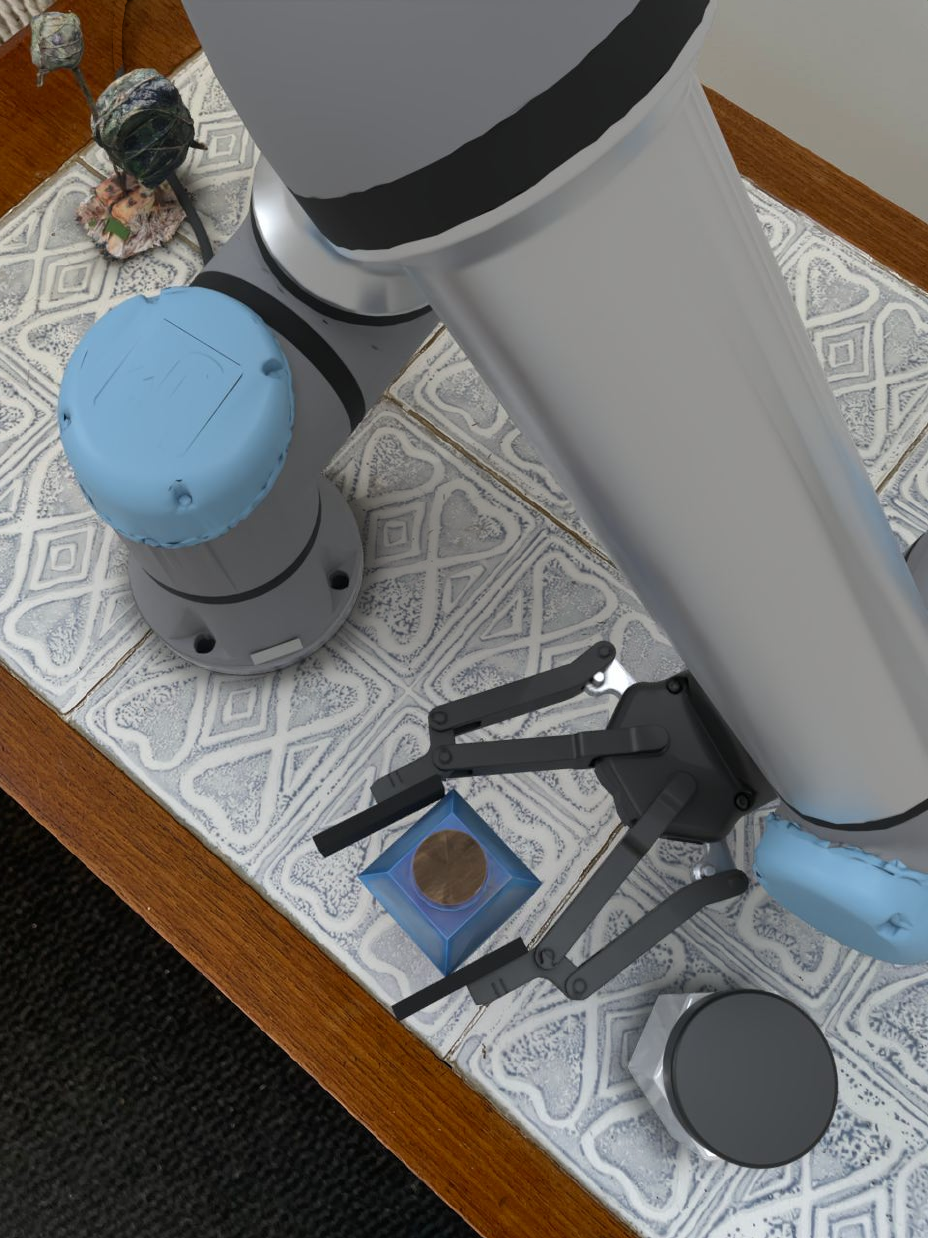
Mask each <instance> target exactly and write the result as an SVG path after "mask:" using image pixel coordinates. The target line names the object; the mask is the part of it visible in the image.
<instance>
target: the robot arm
mask: <svg viewBox="0 0 928 1238" xmlns="http://www.w3.org/2000/svg"><path fill="white" fill-rule="evenodd" d="M180 2H181V4H182V6H183V9H184V10H185V13H186V15H187V17H188V20H189V22H190V24H191V26H192V28H193V31H194V33H195V35H196V37H197V39H198V41H199V44H200V46H201V48H202V50H203V53H204V55H205V57H206V59H207V61H208V64H209V65H210V68H211V70H212V72H213V74H214V77H215V78H216V80H217V82H218V83H219V85H220V87H221V88H222V91H224V93H225V95H226V97H227V98H228V100H229V101H230V103H231V106H232V107H233V109H234V110H235V112H236V114H237V115H238V117H239V119H240V121H241V122H242V124H243V125H244V127H245V129H246V131H247V132H248V134H249V135H250V138H251V139H252V141H253V142H254V144H255V146H256V147H257V149H258V150H259V151H260V153H259V156H258V159H257V161H256V164H255V167H254V171H253V179H252V183H251V184H252V185H251V191H250V199H249V207H248V211H247V214H246V216H245V218H244V219H243V221H242V222H241V224H240V225H239V227H238V228H237V229H236V230H235V232H233V234H232V235H231V236H230V237H229V238H228V240H226V242H225V243H224V244H223V245H222V246H221V248H220V249H219V250H218V251H217V252H216V253H215V254H214V251H213V247H212V244H211V241H210V238H209V235H208V232H207V230H206V229H205V226H204V224H203V222H202V219H201V217H200V215H199V213H198V212H197V210H196V208H195V206H194V203H192V202H191V201H190V199H189V197H188V195H187V193H186V191H185V189H184V187H185V186H184V187H183V185H184V184H183V183H182V182H181V180H180V178H179V177H178V175H177V174H176V172H175V170H174V171H173V172H172V174H171V175H170V176H169V177H168V178H167V181H168V183H169V184H170V186H171V188H172V190H173V191H174V193H175V195H176V197H177V199H178V201H179V203H180V205H181V207H182V209H183V210H184V211H185V213H186V215H187V216H186V218H187V220H188V222H189V224H190V226H191V228H192V230H193V232H194V234H195V237H196V240H197V242H198V246H199V248H200V252H201V255H202V259H203V265H204V267H203V268H202V269H201V271H199V273H198V274H197V275H196V276H195V277H194V279H193V280H192V281H191V283H190V284H188V285H179V286H178V285H173V286H166V287H163V288H160V293H159V295H154V296H149V297H146V296H145V295H144V294H142V293H139V294H136V295H134V296H132V297H130V298H127V299H126V300H123V301H122V302H120V303H118V304H117V305H115V306H114V307H113V308H111V309H110V310H109V311H107V312H106V313H105V314H103V315H102V316H101V317H99V319H97V320H96V321H95V322H94V324H92V325H91V327H89V329H87V332H85V333H84V335H83V337H82V338H81V339H80V341H79V342H78V344H77V345H76V346H75V348H74V350H73V351H72V353H71V355H70V358H69V360H68V361H67V365H66V366H65V369H64V372H63V375H62V378H61V381H60V386H59V389H58V397H57V398H58V399H57V412H56V413H57V425H58V430H59V436H60V441H61V446H62V448H63V451H64V454H65V456H66V459H67V461H68V464H69V465H70V467H71V469H72V471H73V474H74V477H75V479H76V483H77V484H78V486H79V489H80V491H81V493H82V494H83V496H84V498H85V499H86V501H87V503H88V504H89V506H90V507H91V508H92V510H93V511H94V512H95V514H97V515H98V517H99V518H100V519H101V520H102V521H103V522H105V523H106V524H107V525H109V526H110V528H112V530H113V531H114V532H115V533H116V535H117V537H118V538H119V539H120V541H121V542H122V543H123V545H124V546H125V547H126V549H127V550H128V554H127V555H128V557H127V571H128V581H129V586H130V591H131V594H132V598H133V600H134V602H135V605H136V608H137V609H138V611H139V614H140V616H141V617H142V619H143V620H144V622H145V623H146V624H147V626H148V627H149V628H150V629H151V631H152V632H153V633H154V635H155V636H157V638H158V639H159V641H160V642H162V643H163V644H164V646H166V647H167V648H168V650H171V652H173V653H174V654H176V655H177V656H178V657H180V658H182V659H183V660H185V661H186V662H189V663H191V664H193V665H195V666H196V667H200V668H202V669H205V670H209V671H211V672H215V673H220V674H225V675H226V674H227V675H239V676H240V675H241V676H242V675H243V676H244V675H245V676H246V675H258V674H265V673H270V672H274V671H278V670H281V669H285V668H287V667H289V666H292V665H294V664H296V663H299V662H300V661H302V660H304V659H306V658H308V657H309V656H311V655H312V654H314V653H315V652H317V651H318V650H319V649H321V648H322V647H323V646H325V644H327V643H328V642H329V641H330V640H331V639H332V638H333V637H334V636H335V635H336V633H338V631H340V629H341V627H342V626H343V625H344V623H345V622H346V620H347V619H348V618H349V616H350V614H351V612H352V611H353V608H354V607H355V604H356V602H357V599H358V596H359V593H360V591H361V588H362V587H361V586H362V582H363V576H364V563H365V561H364V560H365V558H364V549H363V544H362V543H363V541H362V538H361V533H360V529H359V525H358V522H357V518H356V515H355V514H354V511H353V509H352V507H351V506H350V504H349V502H348V501H347V499H346V497H345V496H344V494H343V493H342V492H341V491H340V489H339V488H338V487H337V486H336V485H335V484H334V483H333V482H332V481H331V480H330V479H329V478H328V477H326V476H325V475H324V474H323V472H324V470H325V469H326V468H327V466H328V465H329V464H330V463H331V461H332V460H333V459H334V458H335V456H336V455H337V454H338V452H339V451H340V450H341V448H342V447H343V446H344V444H346V442H347V441H348V439H350V437H351V436H352V434H353V433H354V432H355V430H356V429H357V428H358V427H359V425H360V424H361V423H362V422H363V421H364V419H365V418H366V416H367V415H368V414H369V412H370V411H371V410H372V408H373V407H374V406H375V405H376V403H377V402H378V401H379V399H380V398H381V397H382V396H383V395H384V393H385V392H386V391H387V390H388V388H389V387H390V385H391V384H392V383H393V381H395V379H396V378H397V377H398V376H399V374H400V373H401V372H402V370H403V369H404V368H405V366H406V365H407V364H408V363H409V361H410V360H411V359H412V358H413V356H414V355H415V354H416V352H417V351H418V350H419V349H420V348H421V346H422V345H423V344H424V342H425V341H426V340H427V339H428V337H430V335H431V334H432V332H433V331H434V330H435V329H436V327H437V326H438V325H439V324H440V322H441V323H442V324H443V326H444V327H445V329H446V330H447V331H448V333H449V334H450V335H451V337H452V338H453V340H454V341H455V343H456V344H457V346H458V347H459V348H460V350H461V351H462V352H463V354H464V356H465V357H466V358H467V359H468V361H469V362H470V364H471V365H472V367H473V368H474V370H476V372H477V373H478V375H479V377H480V378H481V379H482V381H483V382H484V383H485V385H486V386H487V388H488V389H489V390H490V392H491V393H492V395H493V396H494V398H495V399H496V400H497V402H498V403H499V404H500V406H501V408H502V410H504V412H505V414H507V416H508V417H509V419H510V420H511V422H512V423H513V424H514V426H515V427H516V428H517V430H518V431H519V433H520V434H521V435H522V437H523V438H524V439H525V441H526V443H527V444H528V445H529V447H530V448H531V449H532V451H533V452H534V454H535V455H536V457H537V458H538V460H539V461H540V463H542V465H543V467H544V468H545V469H546V471H547V472H548V474H549V475H550V476H551V477H552V479H553V480H554V482H555V483H556V485H557V486H558V487H559V489H560V490H561V493H563V495H564V496H565V497H566V499H567V500H568V501H569V503H570V504H571V506H572V507H573V509H574V511H576V513H577V514H578V516H579V517H580V518H581V520H582V522H583V523H584V524H585V526H586V527H587V529H588V530H589V531H590V532H591V534H592V535H593V537H594V538H595V540H596V541H597V542H598V544H599V545H600V546H601V548H602V549H603V551H604V552H605V554H606V555H607V556H608V558H609V559H610V561H611V562H612V564H613V565H614V566H615V568H616V570H618V572H619V573H620V575H621V576H622V577H623V579H624V580H625V582H626V583H627V585H628V586H629V588H630V589H631V590H632V592H633V593H634V594H635V596H636V597H637V599H638V600H639V602H640V603H641V604H642V606H643V607H644V609H645V610H646V611H647V613H648V614H649V616H650V617H651V619H652V620H653V621H654V623H655V624H656V625H657V626H658V628H659V629H660V631H661V633H662V634H663V635H664V637H665V638H666V639H667V641H668V642H669V644H670V645H671V647H672V648H673V650H674V651H675V653H676V654H677V655H678V657H679V658H680V660H681V661H682V662H683V663H684V665H685V666H686V668H685V669H683V670H681V671H679V672H677V673H676V674H674V675H671V676H669V677H668V678H665V679H662V680H658V681H636V680H635V679H634V678H633V676H631V674H630V673H629V672H628V671H627V670H626V668H625V667H623V665H622V664H621V663H620V662H619V661H618V659H617V658H616V656H617V649H616V647H615V645H614V644H613V643H612V642H611V641H608V640H599V641H597V642H595V643H594V644H592V645H591V646H590V647H589V648H588V649H586V650H585V651H584V652H583V653H581V654H580V655H578V657H576V658H575V659H573V660H572V661H571V662H570V663H566V664H564V665H561V666H557V667H554V668H551V669H548V670H544V671H542V672H539V673H536V674H533V675H529V676H526V677H523V678H520V679H517V680H513V681H511V682H507V683H505V684H501V685H499V686H495V687H492V688H489V689H486V690H483V691H479V692H477V693H473V694H471V695H467V696H464V697H462V698H458V699H455V700H452V701H449V702H446V703H443V704H440V705H437V706H435V707H434V706H433V708H431V710H430V711H429V712H428V715H427V726H428V734H429V748H428V750H427V751H426V752H425V754H424V755H422V756H421V757H419V758H417V759H414V760H413V761H411V762H409V763H407V764H405V765H402V766H401V767H399V768H397V769H394V770H393V771H391V772H389V773H387V774H384V775H383V776H381V777H379V778H377V779H376V780H375V781H374V782H373V784H371V785H370V787H369V789H370V792H371V794H372V796H373V798H374V800H375V803H376V804H374V805H371V806H369V807H368V808H366V809H364V810H361V811H360V812H358V813H356V814H354V815H352V816H350V817H347V818H346V819H344V820H342V821H340V822H339V823H337V824H334V825H333V826H331V827H328V828H326V829H324V830H323V831H320V832H318V833H317V834H315V835H312V836H311V838H312V841H313V842H314V845H315V847H316V849H317V851H318V853H319V854H320V855H321V856H322V857H323V858H324V859H326V858H328V857H330V856H332V855H335V854H336V853H339V852H340V851H342V850H344V849H346V848H348V847H350V846H352V845H355V844H356V843H357V842H361V840H364V839H366V838H368V837H369V836H371V835H372V836H373V834H375V833H377V832H379V831H381V830H384V829H385V828H387V827H389V826H391V825H393V824H395V823H396V822H399V821H401V820H403V819H405V818H407V817H409V816H411V815H413V814H415V813H417V812H419V811H421V810H423V809H425V808H426V807H429V806H431V805H432V804H434V803H437V802H439V801H440V800H441V799H442V798H443V797H444V796H445V795H446V787H445V785H444V783H443V782H447V780H450V779H462V778H474V777H487V776H496V775H498V776H499V775H513V774H522V773H523V774H524V773H536V772H545V771H548V772H549V771H558V770H574V771H579V770H580V771H581V770H593V773H594V774H595V776H596V779H597V780H598V782H599V783H600V785H601V786H602V787H603V788H604V790H606V792H608V794H609V795H610V796H611V797H612V800H613V803H614V808H615V811H616V814H617V817H618V818H619V819H620V821H621V823H622V825H623V827H624V828H626V827H628V830H627V831H626V832H625V833H624V834H623V835H622V837H621V839H619V841H618V842H617V843H616V844H615V846H614V847H613V849H612V850H611V851H610V852H609V854H608V855H607V856H606V858H605V859H604V860H603V861H602V862H601V864H600V865H599V866H598V867H597V869H596V870H595V872H593V874H592V875H591V876H590V878H589V879H588V880H587V881H586V882H585V884H584V885H583V887H581V889H580V890H579V891H578V892H577V893H576V895H575V896H574V897H573V899H572V900H571V901H570V902H569V904H568V905H567V906H566V908H565V909H564V910H563V911H562V913H560V915H559V916H558V918H556V920H555V921H554V923H553V924H552V925H551V926H550V928H549V929H548V930H547V932H546V933H545V934H544V935H543V936H542V937H541V939H540V940H539V942H538V943H537V944H536V945H535V946H534V947H531V948H530V949H529V950H528V948H527V945H526V944H525V942H524V940H523V938H522V936H520V935H519V936H518V937H516V938H514V939H512V940H511V941H509V942H507V943H505V944H504V945H502V946H500V947H497V948H496V949H494V950H492V951H491V952H489V953H487V954H484V955H483V956H481V957H480V958H478V959H476V960H474V961H472V962H470V963H468V964H466V965H464V966H462V967H460V968H458V969H457V970H456V971H455V972H453V973H451V974H450V975H448V976H446V977H444V976H443V977H442V978H441V979H438V980H437V981H435V982H433V983H431V984H429V985H427V986H425V987H423V988H422V989H420V990H418V991H416V992H414V993H412V994H410V995H409V996H407V997H405V998H403V999H402V1000H400V1001H398V1002H396V1003H394V1004H392V1005H390V1008H391V1010H392V1012H393V1015H394V1016H395V1018H396V1021H397V1022H398V1023H400V1022H402V1021H403V1020H405V1019H408V1018H409V1017H410V1016H413V1015H414V1014H416V1013H418V1012H420V1011H422V1010H424V1009H425V1008H427V1007H429V1006H431V1005H433V1004H435V1003H436V1002H438V1001H441V1000H442V999H444V998H446V997H448V996H449V995H452V994H453V993H455V992H457V991H459V990H461V989H463V988H464V987H465V988H466V989H467V991H468V993H469V995H470V997H471V999H472V1001H473V1003H474V1005H475V1006H483V1005H485V1006H486V1005H490V1004H491V1003H493V1002H495V1001H497V1000H498V999H501V998H502V997H505V996H506V995H508V994H510V993H511V992H514V991H515V990H517V989H519V988H522V987H523V986H525V985H527V984H528V983H529V982H532V981H533V980H536V979H539V978H541V979H544V980H547V981H549V982H550V983H551V984H552V985H553V986H555V987H556V989H558V991H559V992H561V993H562V994H563V996H564V997H565V998H566V999H569V1000H570V1001H577V1002H578V1001H579V1002H580V1001H585V1000H587V999H589V998H590V997H591V996H593V995H594V994H595V993H596V992H598V991H599V990H600V989H601V988H602V987H604V986H605V985H606V984H608V983H609V982H611V981H612V980H613V979H614V978H615V977H617V976H618V975H619V974H621V973H622V972H623V971H624V970H626V969H627V968H628V967H629V966H631V965H632V964H633V963H635V962H636V961H638V959H640V958H642V956H643V955H645V954H647V952H649V951H650V950H651V949H652V948H653V947H654V948H655V946H657V944H659V943H660V942H661V941H663V940H664V939H665V938H667V937H668V936H669V935H670V934H671V933H673V932H674V931H675V930H677V929H678V928H679V927H680V926H682V925H683V924H684V923H686V922H687V921H688V920H689V919H690V918H692V917H693V916H695V915H696V914H698V913H699V912H700V911H701V910H702V909H704V908H705V907H707V906H710V905H713V904H717V903H720V902H724V901H726V900H731V899H733V898H736V897H738V896H741V895H744V894H745V893H746V892H747V891H748V890H749V887H750V880H749V879H750V878H749V877H748V875H747V873H746V872H744V871H743V870H742V869H740V868H739V869H738V868H737V863H736V861H735V858H734V856H733V852H732V850H731V848H730V844H729V842H728V839H727V838H728V836H729V835H730V834H731V832H732V831H733V829H734V827H735V826H736V824H737V823H738V822H739V821H740V819H742V818H743V817H745V816H747V815H749V814H752V812H754V811H757V810H758V809H760V808H762V807H763V806H766V805H767V804H769V803H771V802H773V801H775V800H777V799H779V801H780V802H779V804H778V806H777V807H776V809H775V810H774V811H770V812H769V813H768V815H767V816H766V818H765V830H764V831H763V834H762V835H761V838H760V840H759V841H758V843H757V845H756V847H755V849H754V851H753V861H754V862H753V864H752V870H753V873H754V876H755V878H756V880H757V882H758V883H759V884H760V886H761V888H762V889H764V891H765V892H766V894H768V895H769V896H770V897H771V898H772V899H773V900H774V901H776V902H777V903H778V904H779V905H780V906H782V908H784V909H785V910H786V911H788V912H789V913H790V914H792V915H793V916H795V917H796V918H798V919H799V920H801V921H802V922H803V923H805V924H806V925H808V926H810V927H811V928H813V929H815V930H816V931H817V932H820V933H821V934H823V935H825V936H826V937H828V938H829V939H832V940H833V941H835V942H837V943H839V944H841V945H844V946H845V947H847V948H849V949H851V950H854V951H856V952H858V953H860V954H861V955H865V956H867V957H869V958H872V959H875V960H878V961H881V962H884V963H888V964H891V965H892V964H893V965H898V966H916V965H921V964H924V963H926V962H928V529H927V530H926V531H924V532H923V533H922V534H921V535H920V536H919V537H917V539H916V540H914V541H913V542H912V543H911V544H910V545H909V546H908V548H906V549H905V550H904V551H903V552H902V549H901V547H900V545H899V542H898V539H897V538H896V535H895V533H894V531H893V529H892V527H891V524H890V521H889V520H888V519H889V518H888V517H887V515H886V512H885V510H884V508H883V505H882V503H881V500H880V498H879V496H878V493H877V492H876V489H875V487H874V484H873V482H872V480H871V477H870V474H869V473H868V470H867V468H866V465H865V463H864V461H863V459H862V456H861V455H860V452H859V449H858V447H857V444H856V442H855V440H854V437H853V435H852V433H851V430H850V429H849V428H850V427H849V426H848V424H847V421H846V419H845V417H844V415H843V413H842V410H841V407H840V404H839V402H838V400H837V398H836V396H835V393H834V391H833V389H832V387H831V384H830V381H829V379H828V377H827V375H826V372H825V370H824V368H823V366H822V363H821V361H820V358H819V356H818V354H817V352H816V349H815V347H814V345H813V342H812V340H811V337H810V335H809V333H808V330H807V328H806V326H805V323H804V321H803V319H802V317H801V314H800V312H799V310H798V306H797V305H796V302H795V300H794V298H793V295H792V293H791V291H790V289H789V287H788V284H787V282H786V279H785V277H784V274H783V272H782V270H781V267H780V265H779V263H778V260H777V258H776V256H775V254H774V251H773V249H772V247H771V245H770V244H771V243H770V242H769V239H768V237H767V235H766V233H765V231H764V228H763V226H762V223H761V221H760V217H759V216H758V213H757V211H756V208H755V207H754V205H753V202H752V200H751V198H750V195H749V193H748V191H747V189H746V186H745V184H744V181H743V178H742V176H741V174H740V171H739V170H738V167H737V165H736V163H735V160H734V158H733V155H732V153H731V151H730V148H729V147H728V144H727V141H726V139H725V136H724V135H723V132H722V130H721V128H720V125H719V123H718V120H717V119H716V116H715V114H714V112H713V109H712V107H711V104H710V102H709V100H708V98H707V95H706V93H705V91H704V87H703V85H702V84H701V80H700V79H699V77H698V74H697V72H696V70H695V69H696V67H697V64H698V61H699V60H700V57H701V54H702V52H703V49H704V46H705V44H706V42H707V39H708V37H709V34H710V32H711V29H712V26H713V23H714V19H715V16H716V14H717V7H718V0H180ZM122 66H123V65H122ZM120 68H121V69H122V70H121V69H120V70H119V71H117V73H118V74H117V73H116V74H115V73H114V78H115V80H117V79H118V78H120V77H122V76H123V75H125V74H126V71H125V65H124V66H123V68H122V67H120ZM116 75H117V76H116ZM181 183H182V184H183V185H182V184H181ZM584 692H585V694H587V695H588V696H589V697H592V698H599V697H602V696H604V695H613V696H615V697H616V698H617V699H618V702H617V704H616V706H615V707H614V709H613V712H612V714H611V716H610V718H609V719H608V722H607V724H606V727H605V729H594V730H584V731H577V732H575V733H571V734H570V733H569V734H559V735H547V736H535V737H523V738H512V739H498V740H497V739H496V740H485V741H484V740H483V741H474V742H473V741H471V742H460V743H459V742H458V743H457V742H456V737H459V736H463V735H466V734H469V733H471V732H474V731H475V732H476V731H478V730H481V729H484V728H487V727H490V726H492V725H496V724H500V723H502V722H505V721H508V720H512V719H515V718H517V717H521V716H523V715H526V714H530V713H532V712H536V711H539V710H542V709H545V708H548V707H551V706H554V705H557V704H560V703H563V702H566V701H569V700H571V699H573V698H576V697H577V696H579V695H581V694H583V693H584ZM659 839H660V840H667V841H673V842H678V843H679V842H680V843H685V844H693V845H699V846H702V848H703V849H702V850H703V853H702V857H701V858H700V859H699V860H698V861H697V862H695V863H694V864H693V865H692V866H691V867H690V869H689V878H690V883H687V884H686V885H684V886H682V887H680V888H679V889H677V890H675V891H673V893H671V894H670V895H668V896H667V897H666V898H664V899H663V900H661V902H659V903H658V904H656V906H654V907H653V908H652V909H651V910H649V911H648V912H647V913H645V914H644V915H643V916H642V917H640V918H639V919H637V920H636V921H635V922H634V923H632V924H631V925H630V926H628V927H627V928H626V929H624V930H623V931H622V932H621V933H620V934H618V935H617V936H615V937H614V938H613V939H612V940H611V941H609V942H608V943H606V944H605V945H604V946H602V947H601V948H600V949H599V950H597V951H596V952H594V953H593V954H592V955H591V956H590V957H588V958H587V959H586V960H585V961H583V962H582V963H580V964H579V965H578V966H577V965H576V964H575V963H574V962H573V961H572V960H570V959H569V958H568V957H567V954H568V953H569V952H570V951H571V949H572V948H573V947H574V946H575V945H576V943H577V941H579V939H580V938H581V937H582V935H583V934H584V933H585V931H587V929H588V928H589V926H590V925H591V924H592V923H593V921H594V920H595V919H596V917H597V916H598V915H599V914H600V913H601V911H602V910H603V909H604V908H605V906H606V905H607V903H608V902H609V901H610V900H611V899H612V898H613V896H614V895H615V893H617V891H618V890H619V888H620V887H621V886H622V885H623V883H624V882H625V881H626V879H628V877H629V876H630V874H631V873H632V872H633V871H634V869H635V868H636V867H637V865H638V864H639V863H640V862H641V861H642V859H643V858H644V857H645V856H646V855H647V853H648V852H649V851H650V850H651V849H652V848H653V846H654V845H655V844H656V843H657V841H658V840H659Z"/></svg>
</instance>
